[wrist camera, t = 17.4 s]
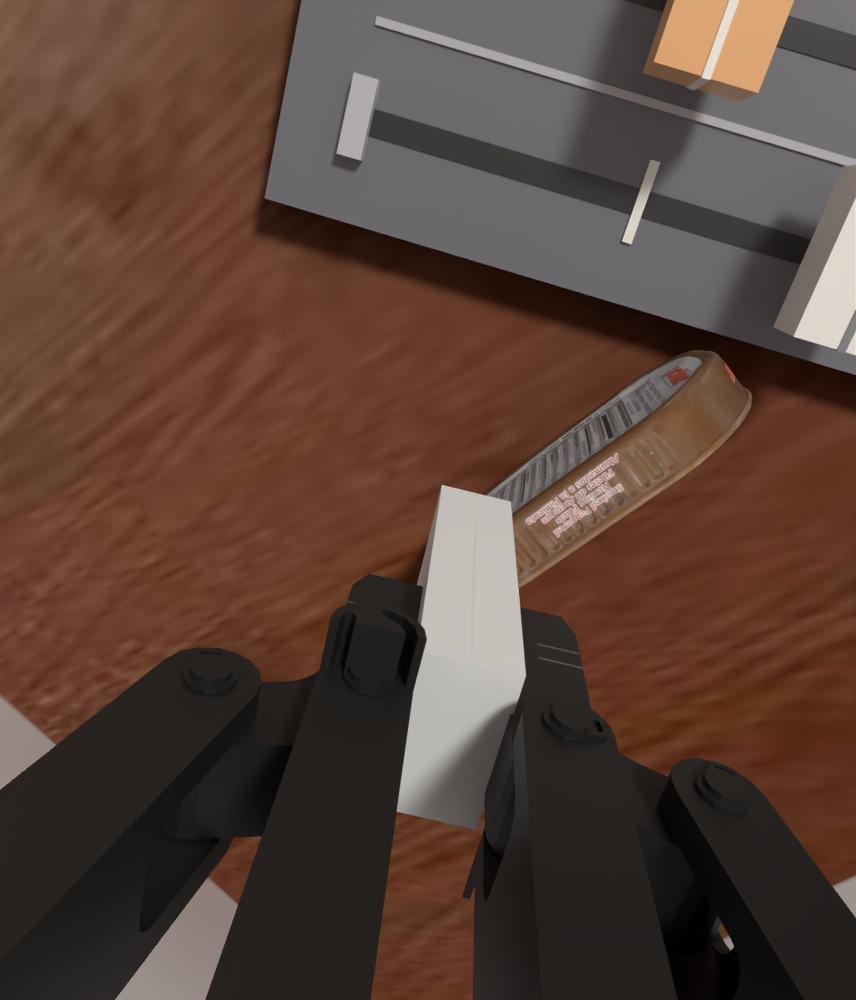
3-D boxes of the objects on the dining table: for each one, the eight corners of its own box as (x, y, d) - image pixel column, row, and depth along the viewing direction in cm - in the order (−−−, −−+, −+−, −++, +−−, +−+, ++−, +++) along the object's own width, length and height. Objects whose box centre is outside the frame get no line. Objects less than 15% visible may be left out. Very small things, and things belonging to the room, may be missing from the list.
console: (277, 198, 35) (260, 198, 33) (357, -213, 30) (342, -250, 27) (923, 391, 35) (953, 405, 33) (1119, 16, 30) (1172, 0, 27)
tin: (471, 561, 41) (461, 646, 33) (431, 516, 40) (411, 592, 32) (727, 377, 36) (787, 425, 28) (688, 322, 35) (738, 356, 28)
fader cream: (758, 321, 33) (793, 338, 29) (823, 167, 31) (872, 161, 26) (840, 346, 33) (888, 366, 29) (913, 193, 31) (975, 192, 26)
